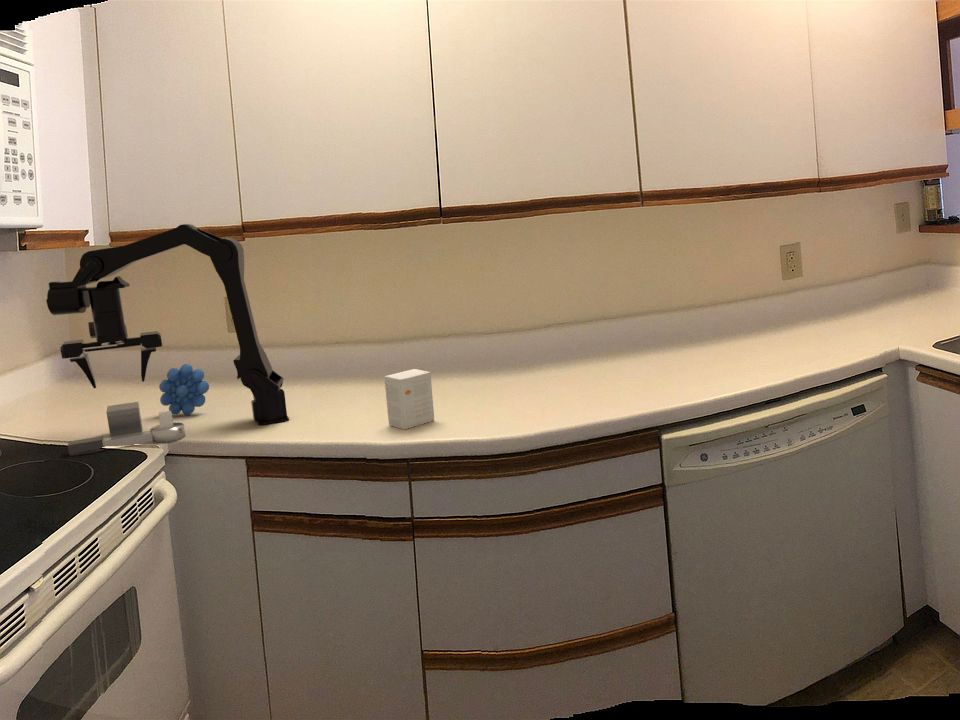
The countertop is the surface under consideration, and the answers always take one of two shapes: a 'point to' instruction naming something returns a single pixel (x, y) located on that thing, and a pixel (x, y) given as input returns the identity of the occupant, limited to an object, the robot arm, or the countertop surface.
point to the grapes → (183, 389)
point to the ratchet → (135, 436)
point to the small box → (409, 398)
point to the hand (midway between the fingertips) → (119, 384)
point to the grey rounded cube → (124, 419)
